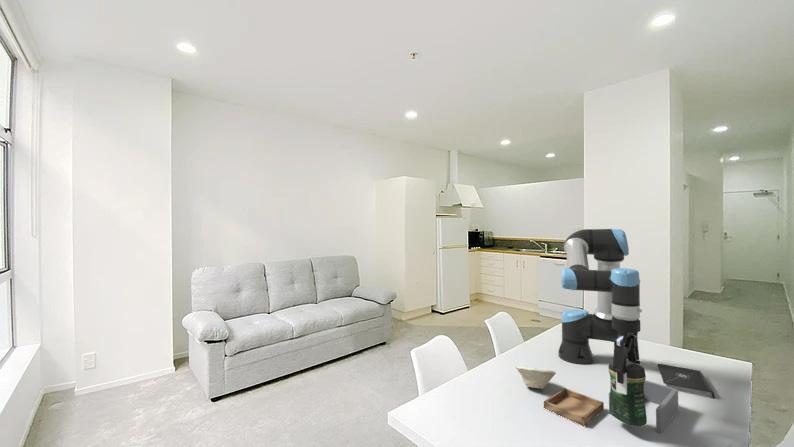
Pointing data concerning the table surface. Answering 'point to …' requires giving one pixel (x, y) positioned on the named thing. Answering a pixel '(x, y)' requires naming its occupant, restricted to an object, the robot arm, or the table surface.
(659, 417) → the bay
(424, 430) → the table surface
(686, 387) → the book
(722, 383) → the table surface
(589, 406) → the tray
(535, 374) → the bowl
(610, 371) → the coffee jar
